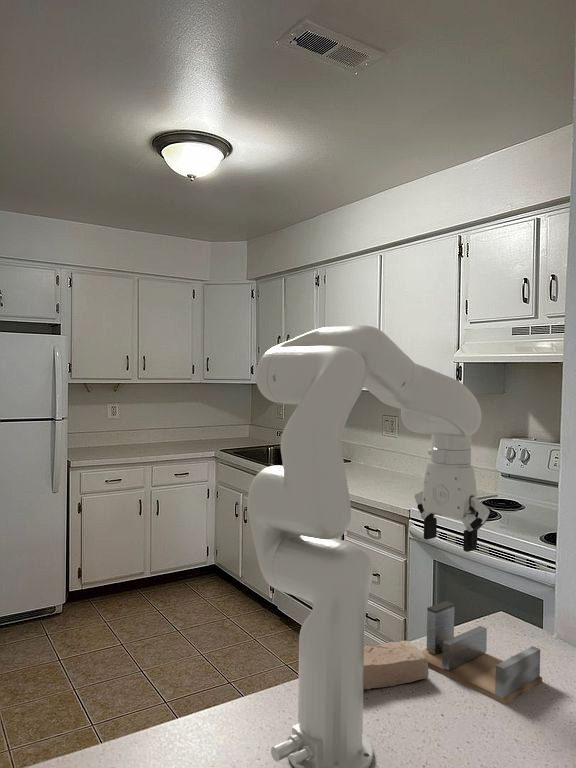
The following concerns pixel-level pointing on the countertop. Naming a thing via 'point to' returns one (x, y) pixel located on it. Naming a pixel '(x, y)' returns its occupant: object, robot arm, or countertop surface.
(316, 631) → the robot arm
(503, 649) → the countertop surface
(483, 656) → the vise base
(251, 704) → the countertop surface
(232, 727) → the countertop surface
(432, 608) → the free jaw
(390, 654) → the brick
